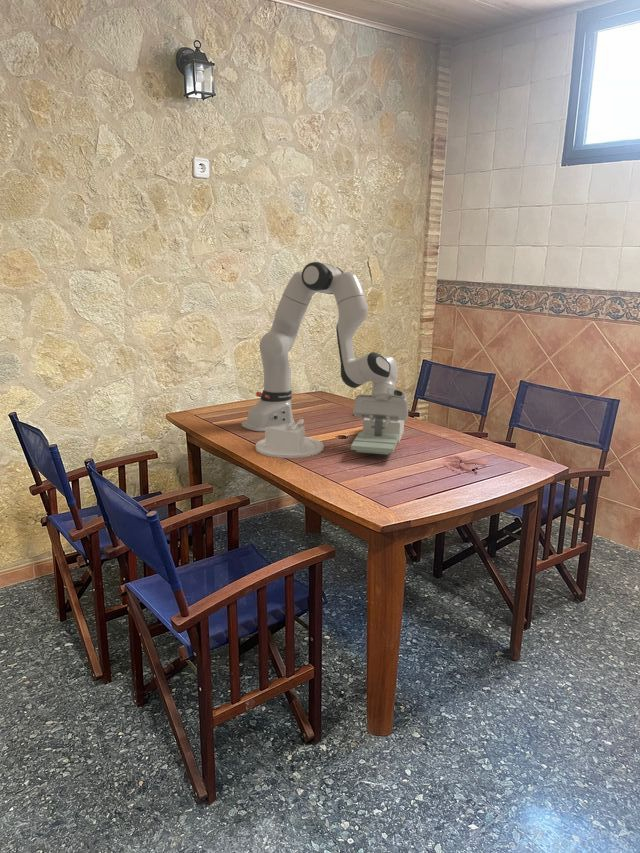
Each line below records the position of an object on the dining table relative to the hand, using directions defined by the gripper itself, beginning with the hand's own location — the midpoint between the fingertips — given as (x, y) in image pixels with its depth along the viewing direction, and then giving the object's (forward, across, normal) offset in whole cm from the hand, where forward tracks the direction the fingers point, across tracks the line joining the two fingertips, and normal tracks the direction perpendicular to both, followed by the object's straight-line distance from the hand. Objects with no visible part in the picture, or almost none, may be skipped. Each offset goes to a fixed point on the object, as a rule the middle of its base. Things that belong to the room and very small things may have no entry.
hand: (378, 427), depth 230 cm
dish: (+11, -32, 0) cm, 34 cm away
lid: (+8, 0, 0) cm, 8 cm away
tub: (-7, 0, +18) cm, 20 cm away
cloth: (+15, +32, -2) cm, 36 cm away
